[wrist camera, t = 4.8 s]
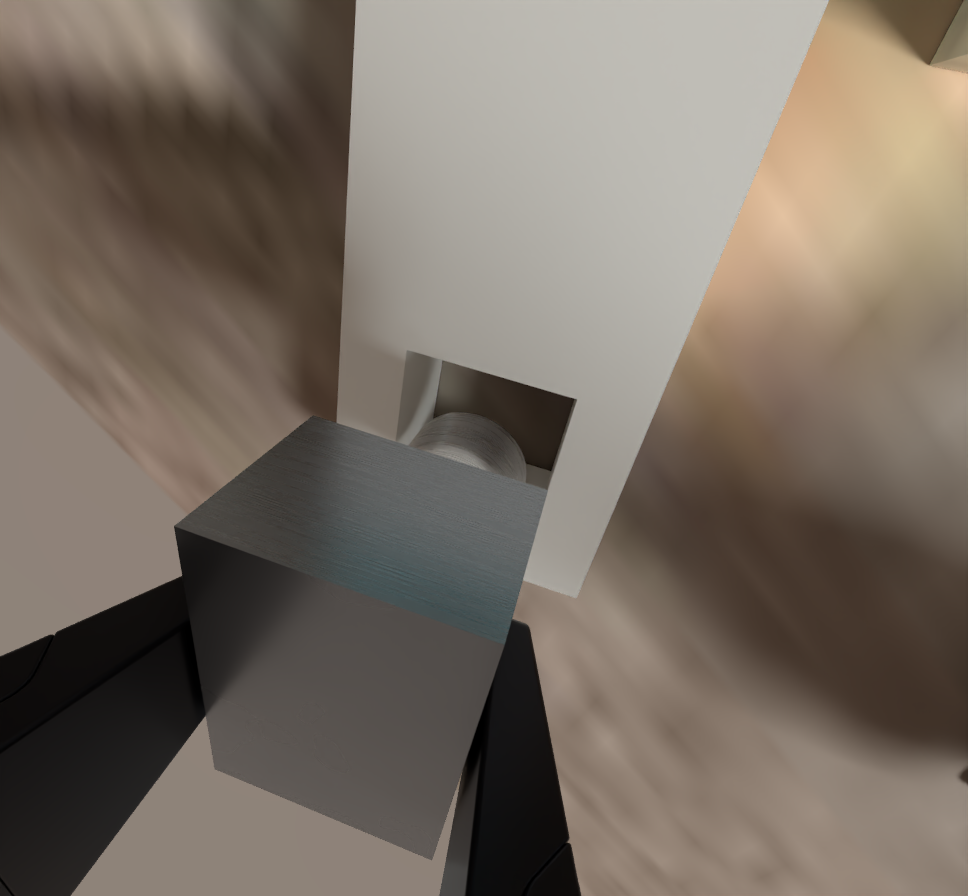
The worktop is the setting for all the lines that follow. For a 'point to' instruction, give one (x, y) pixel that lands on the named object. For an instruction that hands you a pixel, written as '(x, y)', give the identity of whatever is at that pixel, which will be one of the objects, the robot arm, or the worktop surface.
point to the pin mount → (954, 44)
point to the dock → (549, 213)
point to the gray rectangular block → (359, 614)
